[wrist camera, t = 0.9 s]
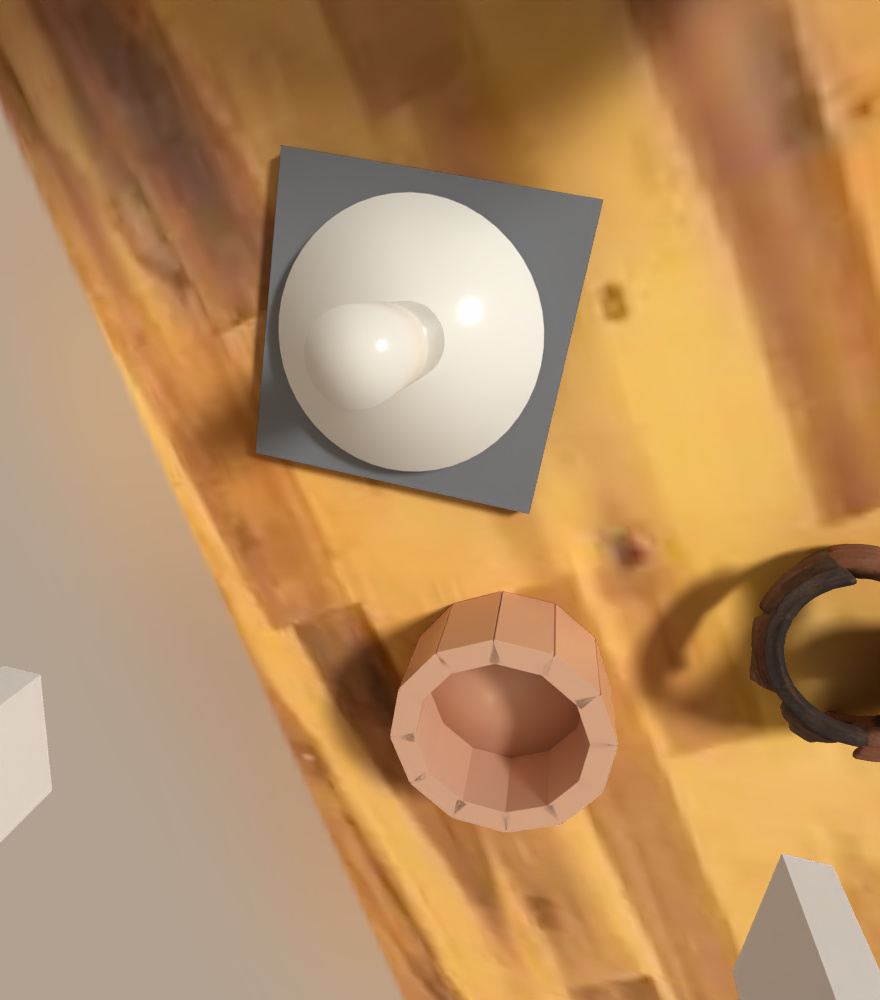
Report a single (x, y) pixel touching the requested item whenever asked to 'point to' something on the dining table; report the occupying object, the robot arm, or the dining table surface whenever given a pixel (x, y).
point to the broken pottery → (768, 668)
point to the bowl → (506, 714)
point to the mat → (536, 236)
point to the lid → (411, 331)
